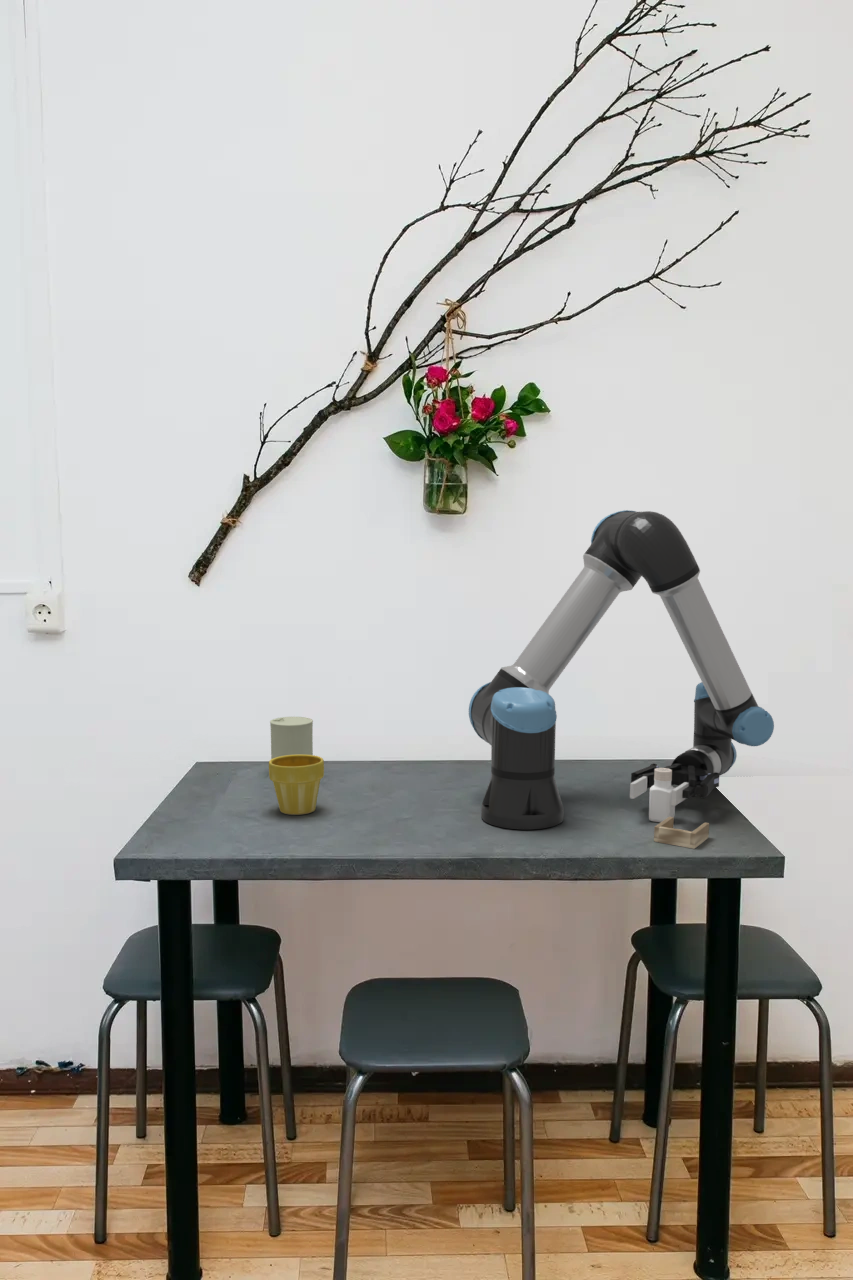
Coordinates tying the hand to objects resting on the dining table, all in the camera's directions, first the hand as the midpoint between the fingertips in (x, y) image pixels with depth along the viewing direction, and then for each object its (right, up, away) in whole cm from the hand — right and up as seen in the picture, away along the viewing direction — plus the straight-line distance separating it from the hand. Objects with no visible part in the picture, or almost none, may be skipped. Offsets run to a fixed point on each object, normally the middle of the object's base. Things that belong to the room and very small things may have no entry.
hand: (652, 794), depth 191 cm
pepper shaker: (+3, -6, +5) cm, 8 cm away
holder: (+4, -7, -6) cm, 10 cm away
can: (-69, -1, +39) cm, 79 cm away
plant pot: (-65, -5, +11) cm, 66 cm away
